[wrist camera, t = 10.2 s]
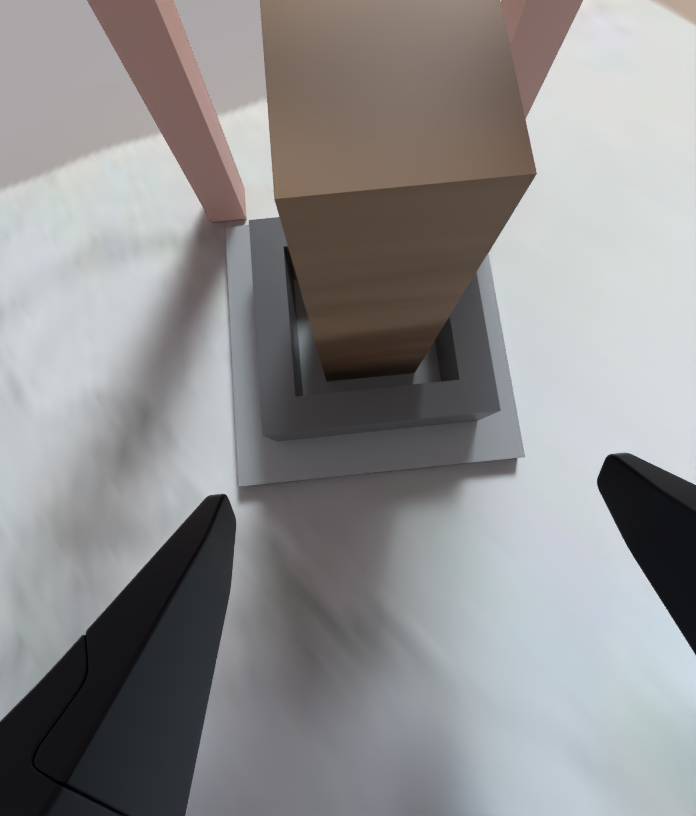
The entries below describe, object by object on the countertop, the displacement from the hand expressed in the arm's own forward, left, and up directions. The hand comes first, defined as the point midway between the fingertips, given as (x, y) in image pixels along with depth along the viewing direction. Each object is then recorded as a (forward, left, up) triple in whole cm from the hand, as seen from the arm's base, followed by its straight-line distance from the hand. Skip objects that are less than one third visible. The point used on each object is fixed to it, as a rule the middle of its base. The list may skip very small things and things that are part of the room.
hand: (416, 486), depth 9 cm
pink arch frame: (+12, +4, -10) cm, 16 cm away
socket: (+7, +2, -10) cm, 13 cm away
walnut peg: (+7, +2, -9) cm, 12 cm away
